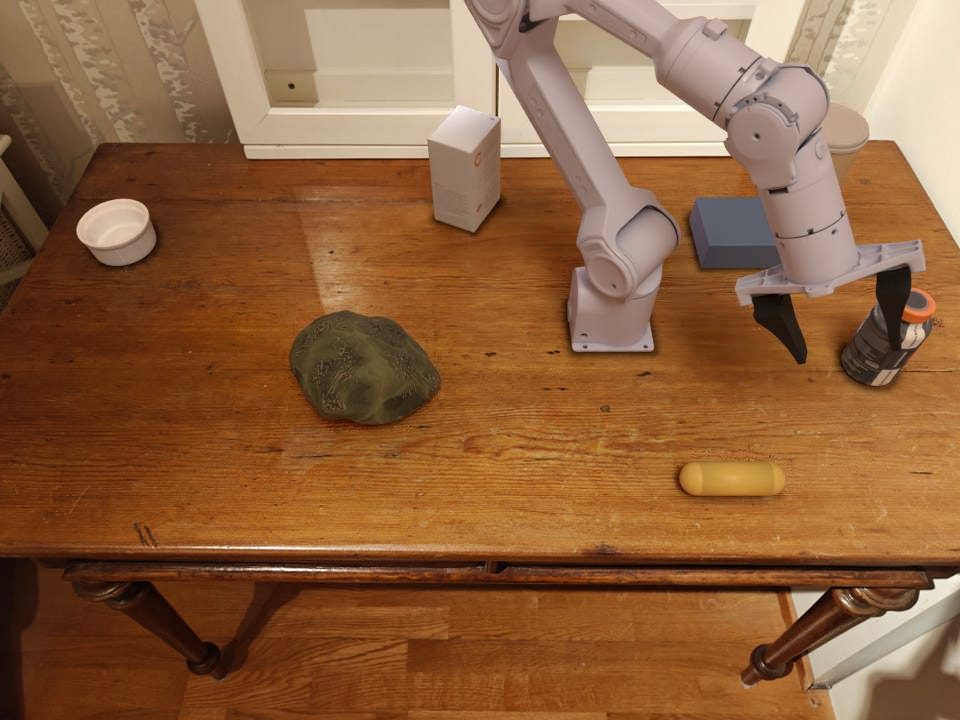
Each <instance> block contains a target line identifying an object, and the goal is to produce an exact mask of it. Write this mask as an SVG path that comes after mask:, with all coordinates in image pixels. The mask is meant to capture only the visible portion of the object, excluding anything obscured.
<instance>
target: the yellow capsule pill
mask: <svg viewBox="0 0 960 720" xmlns="http://www.w3.org/2000/svg"><path fill="white" fill-rule="evenodd" d="M679 483H680V485H681V488H682V489H683V490H684V491H685V492H686V493H687V494H689V495H691V496H695V497H769V496H770V497H771V496H776V495H778V494H780V493H781V492H782V491H783V490H784V488H785V487H786V484H787V475H786V473H785V470H784V468H783V467H782V466H780V465H779V464H777V463H776V462H773V461H770V460H769V461H768V460H725V461H724V460H721V461H719V460H718V461H717V460H714V461H713V460H711V461H710V460H703V461H702V460H701V461H700V460H698V461H696V460H695V461H690V462H688V463H686V464H685V465H684V466H683V467H682V469H681V470H680V472H679Z"/></svg>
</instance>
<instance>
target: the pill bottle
mask: <svg viewBox="0 0 960 720" xmlns="http://www.w3.org/2000/svg"><path fill="white" fill-rule="evenodd" d="M936 309H937V303H936V302H935V300H934V298H933V297H932V295H930V294H929V293H927V292H926V291H924V290H922V289H920V288H917V287H913V286H912V287H911V292H910V296H909V298H908V301H907V303H906V306H905V309H904V313H903V317H902V321H901V328H900V332H901V338H902V350H901V351H896V352H892V350H891V347H890V344H889V338H888V332H887V326H886V322H885V319H884V316H883V313H882V310H881V308H880V305H879V303H878V301H877V302H875V304H874V305H873V306H872V308H871V309H870V311H869V312H868V313H867V315H866V316H865V318H863V321H862V322H861V324H860V326H858V328H857V330H856V332H855V333H854V335H853V336H852V337H851V339H850V341H849V342H848V344H847V345H846V347H845V348H844V350H843V351H842V353H841V358H840V360H841V364H842V367H843V369H844V371H845V372H846V373H847V374H848V376H850V377H851V378H853V379H854V380H855V381H857V382H858V383H862V384H864V385H867V386H871V387H879V386H885V385H888V384H891V382H893V380H894V379H895V378H896V377H897V376H898V375H899V373H900V372H901V371H902V369H904V367H905V366H906V364H907V363H908V362H909V361H910V359H912V357H913V356H914V354H915V353H916V352H917V350H918V349H920V347H921V346H922V345H923V344H924V343H925V341H926V339H927V338H928V337H929V336H930V334H931V332H932V330H933V319H932V316H933V314H934V313H935V312H936Z"/></svg>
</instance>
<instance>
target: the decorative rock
mask: <svg viewBox="0 0 960 720" xmlns="http://www.w3.org/2000/svg"><path fill="white" fill-rule="evenodd" d="M288 359H289V360H288V361H289V367H290V370H291V373H292V374H293V377H294V378H295V380H296V382H297V384H298V386H299V388H300V391H302V393H303V395H304V398H305V399H306V400H307V402H308V403H309V404H310V405H311V406H313V407H314V409H315V410H316V411H317V413H318V415H319V416H320V417H321V418H323V419H325V420H329V421H340V420H350V421H352V422H355V423H357V424H362V425H370V426H376V425H377V426H378V425H384V424H391V423H395V422H398V421H400V420H403V419H404V418H406V417H408V416H409V415H411V414H412V413H414V412H416V411H417V410H419V409H420V408H422V407H423V406H424V405H425V404H426V403H428V402H429V401H430V399H432V398H433V396H434V395H435V394H436V393H437V392H438V391H439V390H440V387H441V384H442V377H441V375H440V373H439V371H438V369H437V368H436V367H435V365H434V364H433V363H432V361H431V360H430V358H429V356H428V353H427V352H426V350H424V348H423V347H422V346H421V344H419V342H417V340H415V339H414V338H413V337H412V336H411V335H410V334H409V333H407V332H406V330H404V328H403V326H401V324H399V323H398V322H397V321H395V320H393V319H390V318H388V317H384V316H380V315H379V316H377V315H376V316H368V315H363V314H362V313H361V314H360V313H356V312H353V311H351V310H347V309H342V310H339V311H333V312H330V313H328V314H324V315H322V316H318V317H317V318H315V319H314V320H313V321H311V323H309V324H308V325H307V326H305V327H304V328H303V329H302V330H300V331H299V332H298V333H297V335H296V336H295V339H294V341H293V342H292V345H291V347H290V350H289V355H288Z"/></svg>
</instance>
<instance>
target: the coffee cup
mask: <svg viewBox="0 0 960 720" xmlns="http://www.w3.org/2000/svg"><path fill="white" fill-rule="evenodd" d="M821 127H822V128H823V130H824V134H825V137H826V141H827V144H828V148H829V151H830V155H831V158H832V162H833V165H834V169H835V172H836V176H837V179H838V183H839V186H840V187H841V185H842V183H843V181H844V180H845V178H846V176H847V174H848V173H849V171H850V170H851V168H852V166H853V165H854V163H855V161H856V160H857V159H858V156H859V155H860V153H861V151H862V150H863V148H864V147H865V146H866V145H867V143H868V142H869V139H870V133H871V132H870V125H869V123H868V121H867V119H866V118H865V117H864V116H863V115H862V114H860V113H859V112H857V110H855V109H853V108H850V107H848V106H846V105H842V104H839V103H834V102H830V106H829V110H828V113H827V115H826V117H825V118H824V120H823V121H822V123H821V124H820V126H819V127H818V128H817V129H816V130H815V131H814V132H813V133H815V132H816V131H818V130H819V129H820V128H821ZM813 133H812V134H813Z"/></svg>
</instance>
